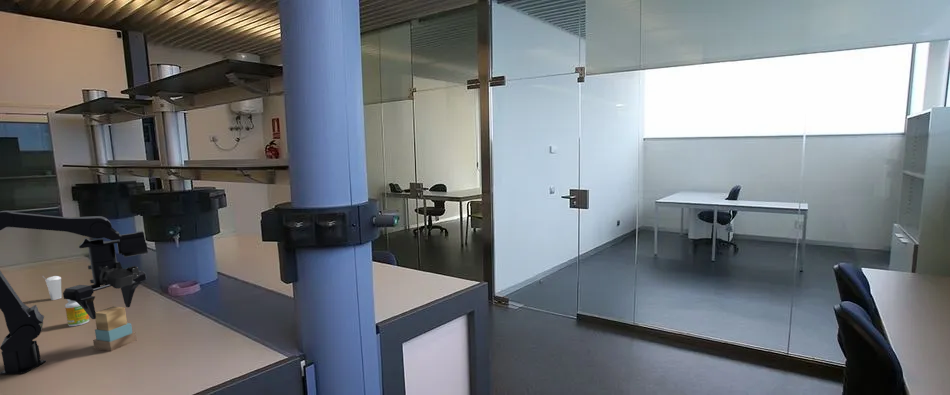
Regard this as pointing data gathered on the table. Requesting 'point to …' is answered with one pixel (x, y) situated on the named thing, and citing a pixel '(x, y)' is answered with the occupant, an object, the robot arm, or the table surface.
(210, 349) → the table surface
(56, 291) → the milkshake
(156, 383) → the table surface
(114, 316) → the oak cube
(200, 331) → the table surface
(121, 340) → the tower base block
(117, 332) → the tower top block
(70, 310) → the supplement bottle
